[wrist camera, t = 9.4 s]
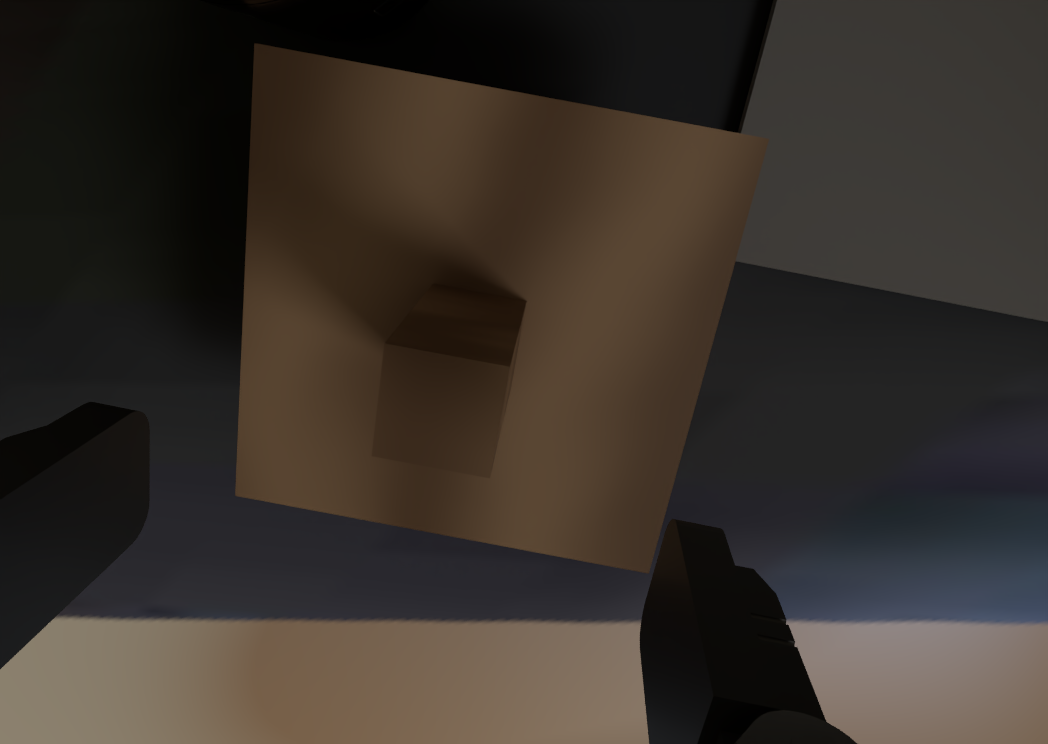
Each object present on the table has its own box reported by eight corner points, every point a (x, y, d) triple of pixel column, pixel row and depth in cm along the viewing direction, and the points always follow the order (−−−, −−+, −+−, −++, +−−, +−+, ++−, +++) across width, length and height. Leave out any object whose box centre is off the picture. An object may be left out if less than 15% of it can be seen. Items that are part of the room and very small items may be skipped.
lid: (761, 137, 18) (844, 150, 12) (646, 557, 22) (669, 707, 16) (268, 46, 18) (130, 18, 12) (247, 482, 22) (137, 607, 16)
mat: (1330, -143, 19) (1349, -149, 19) (1104, 330, 24) (1114, 334, 23) (837, -238, 19) (844, -247, 19) (704, 252, 24) (707, 255, 23)
